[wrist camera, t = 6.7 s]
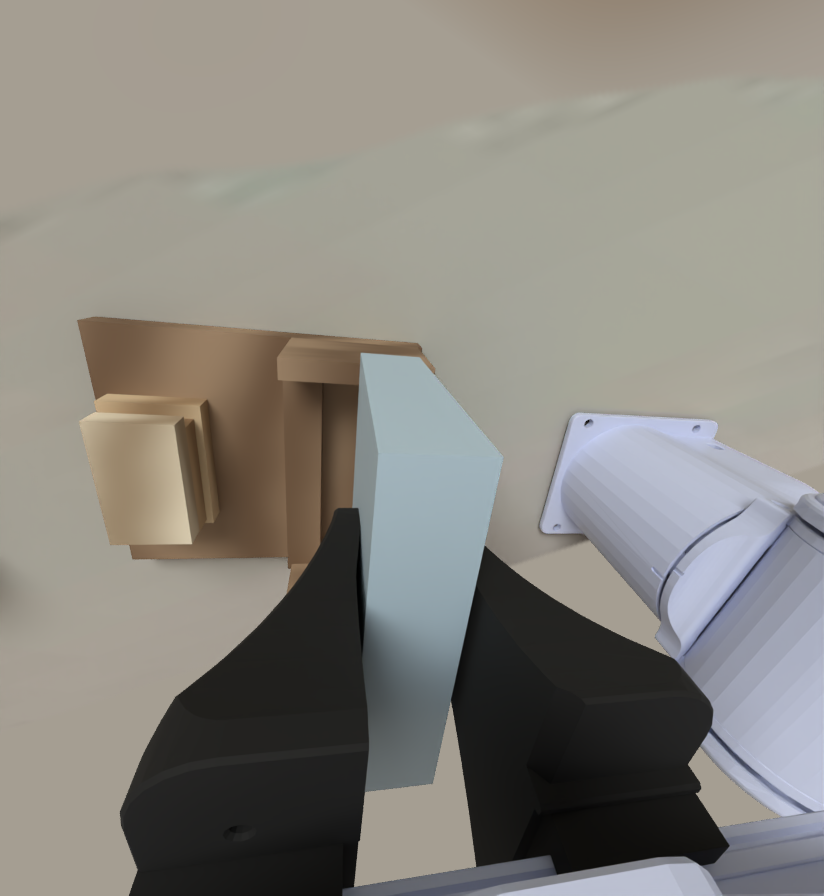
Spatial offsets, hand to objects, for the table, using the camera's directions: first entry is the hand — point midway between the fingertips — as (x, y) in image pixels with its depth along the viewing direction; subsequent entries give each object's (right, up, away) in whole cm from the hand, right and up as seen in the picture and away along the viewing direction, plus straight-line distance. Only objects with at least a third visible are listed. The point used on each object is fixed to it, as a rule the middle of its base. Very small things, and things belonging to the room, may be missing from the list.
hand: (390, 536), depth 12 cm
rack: (-7, +3, +9) cm, 11 cm away
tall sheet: (-1, +2, +3) cm, 4 cm away
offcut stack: (-11, +2, +7) cm, 13 cm away
